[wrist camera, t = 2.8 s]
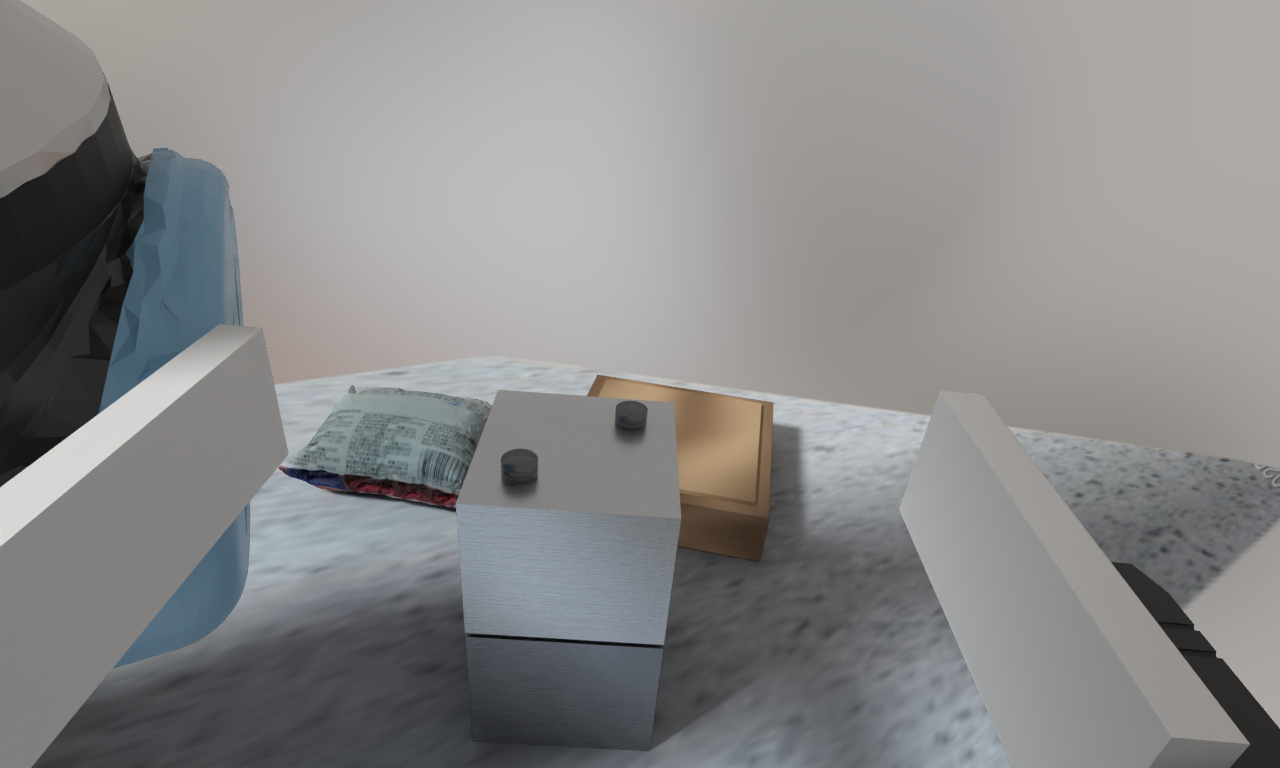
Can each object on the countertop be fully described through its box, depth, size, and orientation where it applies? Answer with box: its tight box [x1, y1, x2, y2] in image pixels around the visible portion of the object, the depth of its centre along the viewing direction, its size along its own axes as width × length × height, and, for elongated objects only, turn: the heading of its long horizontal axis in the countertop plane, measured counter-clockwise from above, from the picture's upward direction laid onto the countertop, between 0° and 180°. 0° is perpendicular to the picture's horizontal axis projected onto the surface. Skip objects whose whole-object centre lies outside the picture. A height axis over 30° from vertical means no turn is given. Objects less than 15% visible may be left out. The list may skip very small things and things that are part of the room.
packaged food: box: [279, 385, 492, 508], centre depth 41 cm, size 9×12×5 cm
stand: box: [587, 375, 773, 562], centre depth 42 cm, size 12×12×3 cm
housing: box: [456, 390, 681, 751], centre depth 27 cm, size 7×7×13 cm
